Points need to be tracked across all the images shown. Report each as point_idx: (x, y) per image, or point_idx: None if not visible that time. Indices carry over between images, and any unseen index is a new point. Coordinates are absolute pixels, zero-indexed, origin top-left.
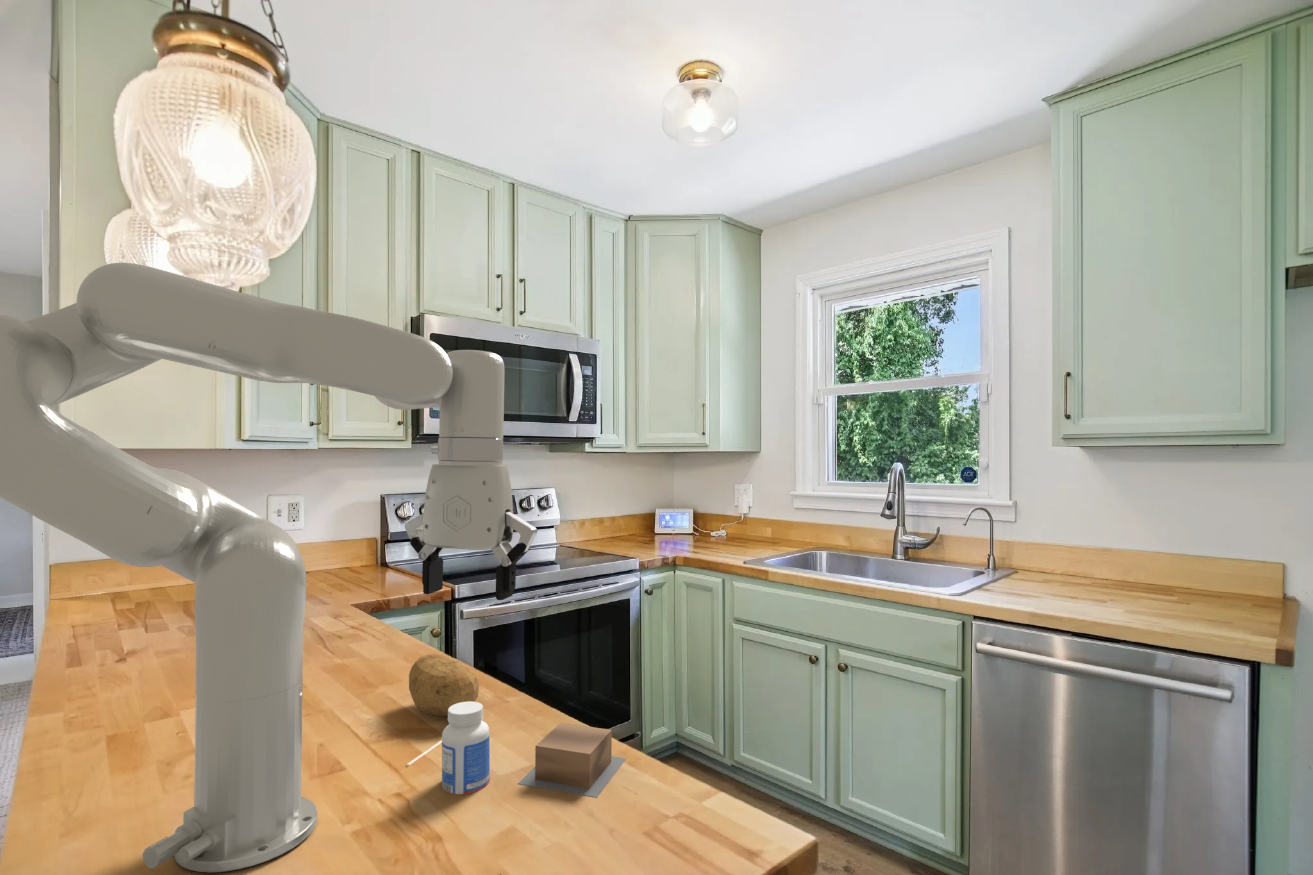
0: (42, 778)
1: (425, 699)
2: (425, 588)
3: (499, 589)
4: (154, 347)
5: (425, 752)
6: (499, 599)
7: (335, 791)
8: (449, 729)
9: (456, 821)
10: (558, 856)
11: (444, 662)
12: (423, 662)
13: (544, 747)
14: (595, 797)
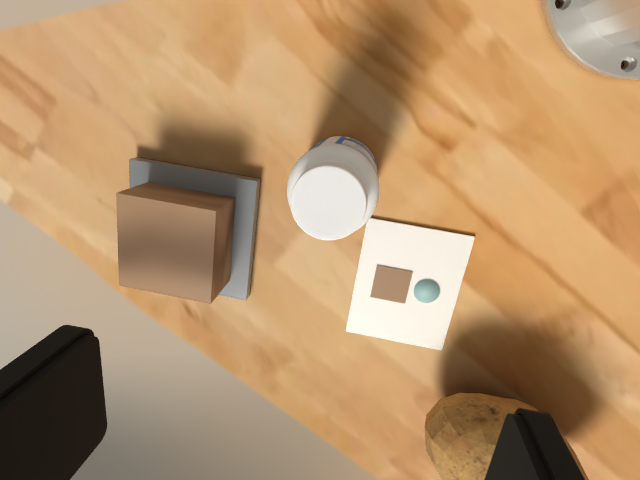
0: None
1: (517, 406)
2: (541, 428)
3: (31, 354)
4: None
5: (459, 278)
6: (76, 327)
7: (564, 137)
8: (357, 172)
9: (316, 81)
10: (137, 18)
11: None
12: None
13: (199, 208)
14: (131, 159)
